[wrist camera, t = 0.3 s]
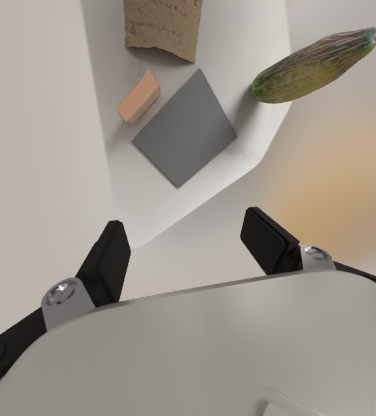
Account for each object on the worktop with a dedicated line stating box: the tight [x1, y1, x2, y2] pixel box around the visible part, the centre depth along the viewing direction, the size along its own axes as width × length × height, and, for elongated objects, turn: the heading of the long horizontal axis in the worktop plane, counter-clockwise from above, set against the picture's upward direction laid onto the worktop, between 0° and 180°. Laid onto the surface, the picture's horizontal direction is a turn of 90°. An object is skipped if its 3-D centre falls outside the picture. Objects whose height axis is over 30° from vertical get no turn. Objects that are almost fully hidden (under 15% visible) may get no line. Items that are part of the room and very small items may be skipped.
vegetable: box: [252, 28, 376, 104], centre depth 23 cm, size 6×6×20 cm
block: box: [116, 70, 160, 123], centre depth 26 cm, size 8×2×8 cm, turn 130°
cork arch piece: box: [124, 0, 202, 63], centre depth 23 cm, size 14×10×3 cm
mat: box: [132, 68, 237, 188], centre depth 34 cm, size 20×16×1 cm
